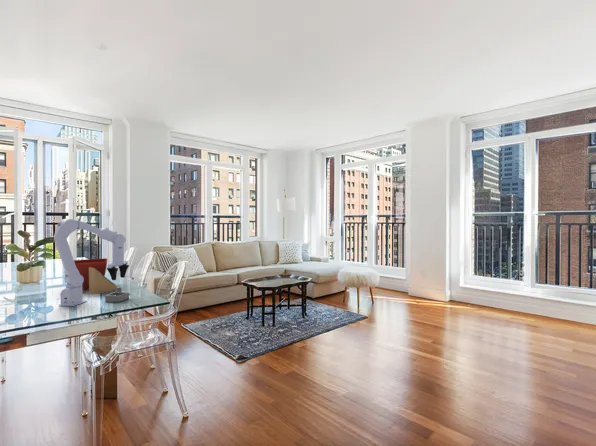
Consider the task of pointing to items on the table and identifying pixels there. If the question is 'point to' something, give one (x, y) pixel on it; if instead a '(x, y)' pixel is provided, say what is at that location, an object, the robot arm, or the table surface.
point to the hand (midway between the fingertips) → (118, 278)
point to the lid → (120, 290)
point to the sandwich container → (99, 282)
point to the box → (117, 297)
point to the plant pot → (92, 263)
